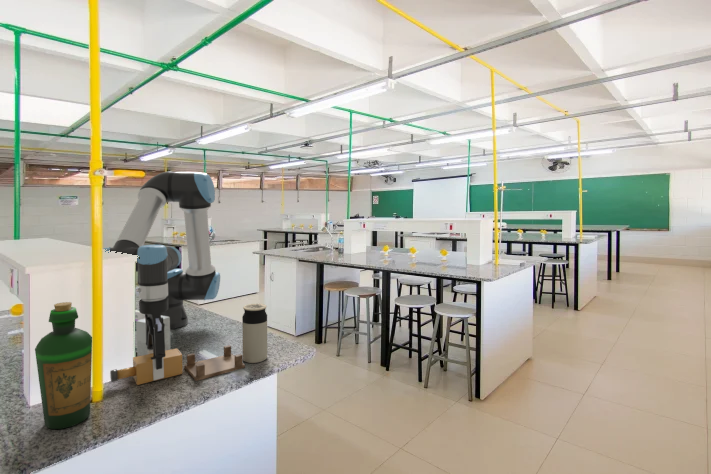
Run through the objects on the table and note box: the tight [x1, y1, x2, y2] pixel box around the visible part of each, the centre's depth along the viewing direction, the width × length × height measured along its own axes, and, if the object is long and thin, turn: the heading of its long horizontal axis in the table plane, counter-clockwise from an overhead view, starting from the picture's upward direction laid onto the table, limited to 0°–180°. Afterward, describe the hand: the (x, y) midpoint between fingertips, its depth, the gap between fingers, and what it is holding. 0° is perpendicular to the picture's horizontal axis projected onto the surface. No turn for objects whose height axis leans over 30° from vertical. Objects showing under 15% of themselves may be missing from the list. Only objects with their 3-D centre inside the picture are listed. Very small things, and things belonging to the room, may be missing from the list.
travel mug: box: [241, 302, 268, 364], centre depth 125 cm, size 8×8×18 cm
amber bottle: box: [109, 348, 183, 386], centre depth 109 cm, size 18×6×6 cm, turn 129°
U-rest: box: [184, 344, 246, 382], centre depth 118 cm, size 15×11×4 cm
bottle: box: [34, 301, 93, 430], centre depth 87 cm, size 11×11×28 cm
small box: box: [136, 315, 172, 357], centre depth 125 cm, size 8×6×13 cm
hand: (156, 374), depth 111 cm, fingers closed on amber bottle, 6 cm apart
